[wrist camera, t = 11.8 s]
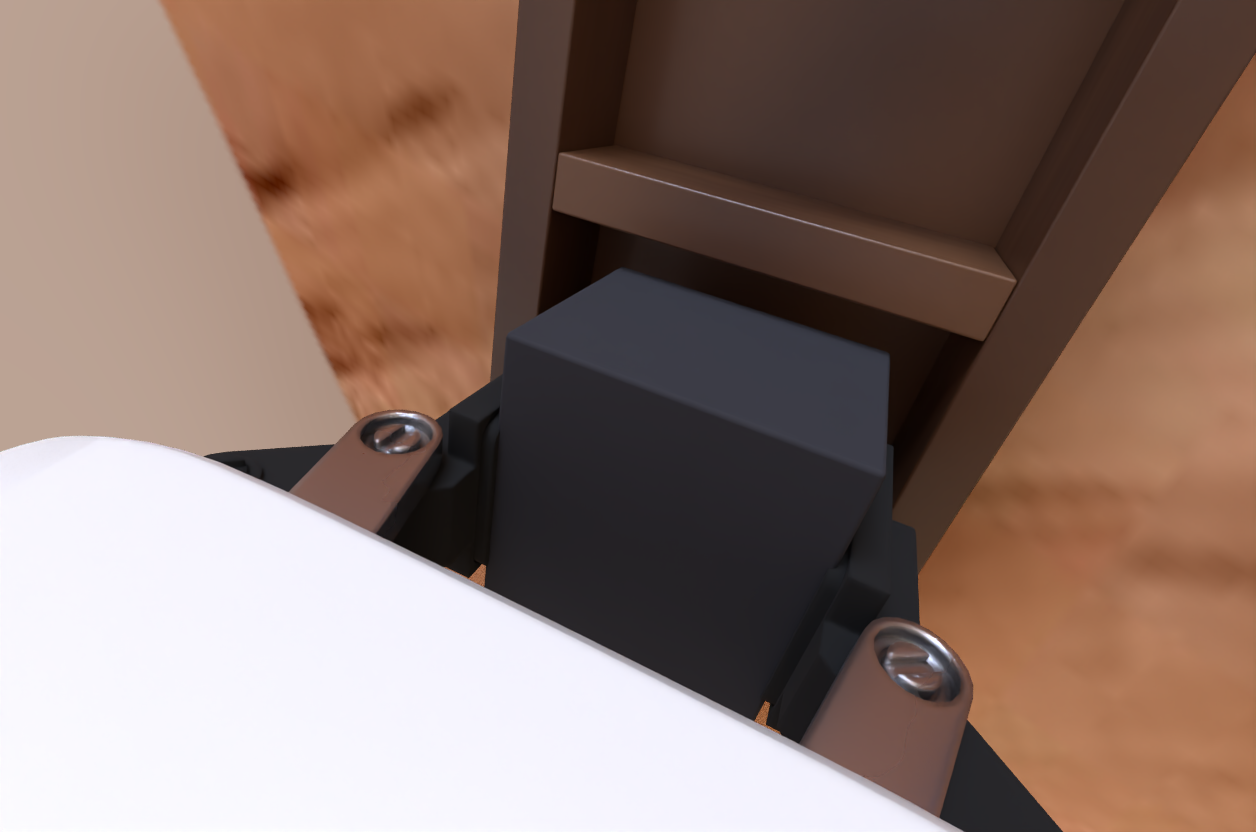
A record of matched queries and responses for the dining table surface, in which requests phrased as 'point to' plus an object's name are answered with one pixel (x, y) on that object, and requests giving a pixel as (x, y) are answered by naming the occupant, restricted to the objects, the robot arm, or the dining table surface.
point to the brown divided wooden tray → (864, 179)
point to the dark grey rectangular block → (681, 476)
